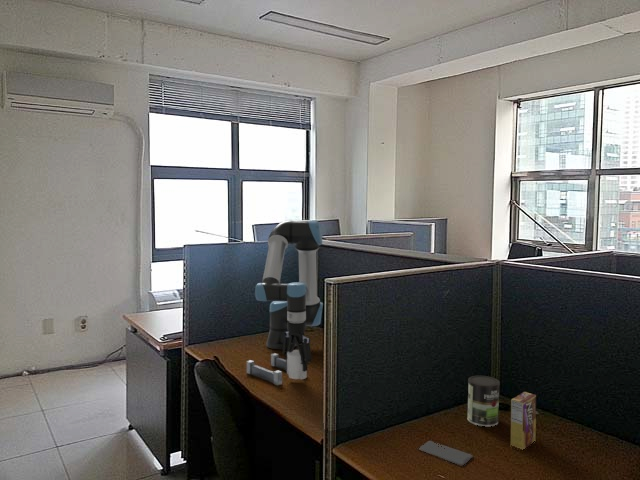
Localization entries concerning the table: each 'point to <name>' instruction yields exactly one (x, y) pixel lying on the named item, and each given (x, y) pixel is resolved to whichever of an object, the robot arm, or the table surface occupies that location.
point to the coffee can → (483, 400)
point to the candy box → (523, 420)
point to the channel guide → (267, 374)
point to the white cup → (294, 364)
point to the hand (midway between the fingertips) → (296, 375)
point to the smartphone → (446, 453)
